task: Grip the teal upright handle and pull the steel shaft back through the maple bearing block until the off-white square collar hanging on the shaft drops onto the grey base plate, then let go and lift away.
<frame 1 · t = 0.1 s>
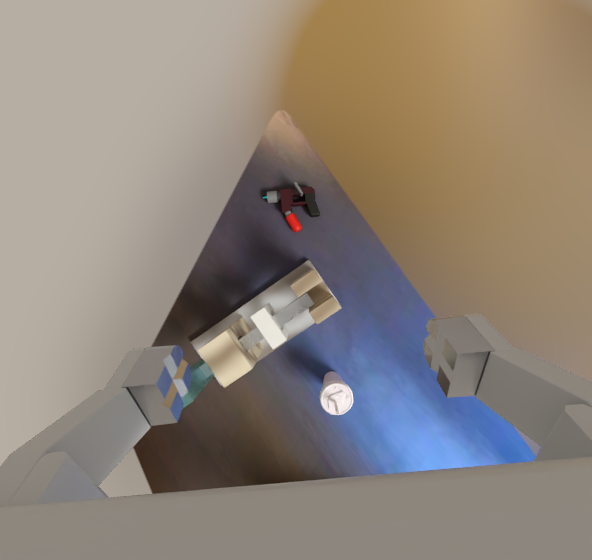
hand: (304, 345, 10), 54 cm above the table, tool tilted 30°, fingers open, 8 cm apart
smoothie: (331, 379, 65), on the table
collar: (272, 321, 57), point 7 cm above the table, touching shaft
toy gun: (291, 211, 64), on the table
stand: (265, 322, 64), on the table
shaft: (246, 344, 50), point 15 cm above the table, slide at 0.0 cm, touching collar
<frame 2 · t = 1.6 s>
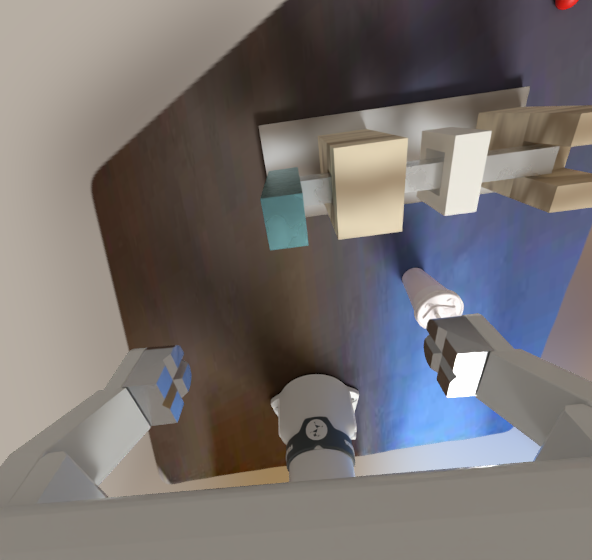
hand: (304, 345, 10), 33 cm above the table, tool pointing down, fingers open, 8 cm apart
smoothie: (412, 276, 48), on the table
collar: (432, 164, 32), point 7 cm above the table, touching shaft
stand: (387, 159, 38), on the table
shaft: (419, 184, 25), point 15 cm above the table, slide at 0.0 cm, touching collar
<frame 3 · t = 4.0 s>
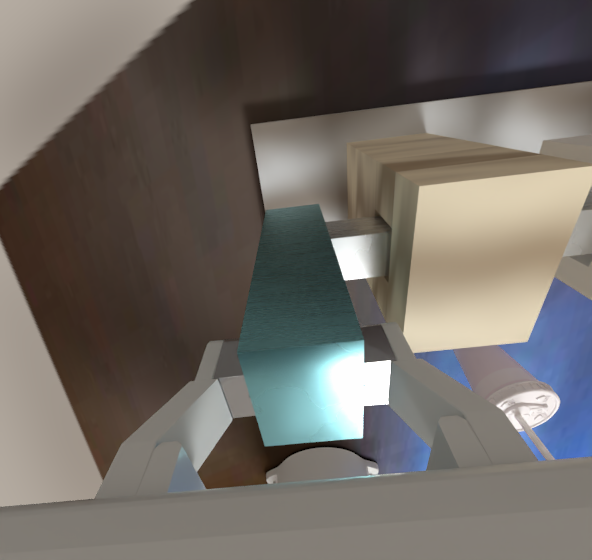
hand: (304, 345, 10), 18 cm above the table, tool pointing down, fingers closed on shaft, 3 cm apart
smoothie: (465, 337, 34), on the table
collar: (548, 197, 19), point 7 cm above the table, touching shaft
stand: (450, 179, 25), on the table
shaft: (584, 259, 12), point 15 cm above the table, slide at 0.0 cm, touching collar, gripper
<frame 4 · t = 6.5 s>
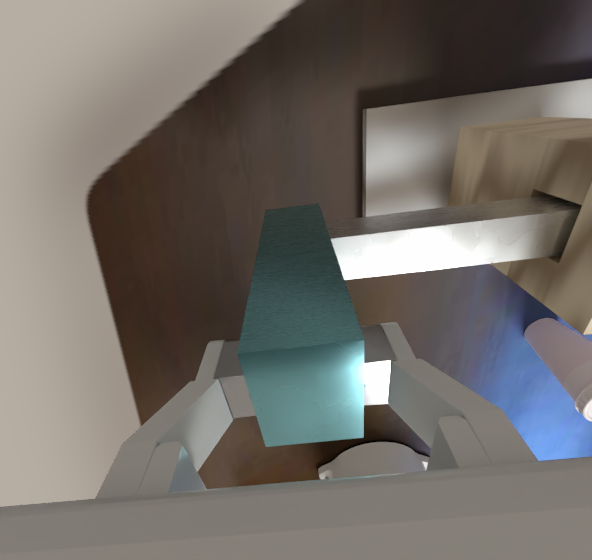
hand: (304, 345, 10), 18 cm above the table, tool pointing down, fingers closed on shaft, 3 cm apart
smoothie: (539, 329, 34), on the table
stand: (552, 165, 24), on the table
shaft: (584, 257, 12), point 15 cm above the table, slide at 8.5 cm, touching collar, gripper
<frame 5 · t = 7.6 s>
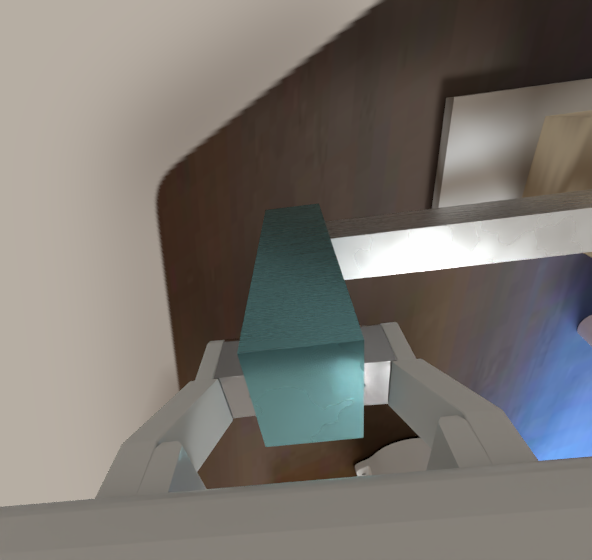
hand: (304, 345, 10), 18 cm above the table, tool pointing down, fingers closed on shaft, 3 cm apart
shaft: (584, 257, 12), point 15 cm above the table, slide at 14.8 cm, touching collar, gripper
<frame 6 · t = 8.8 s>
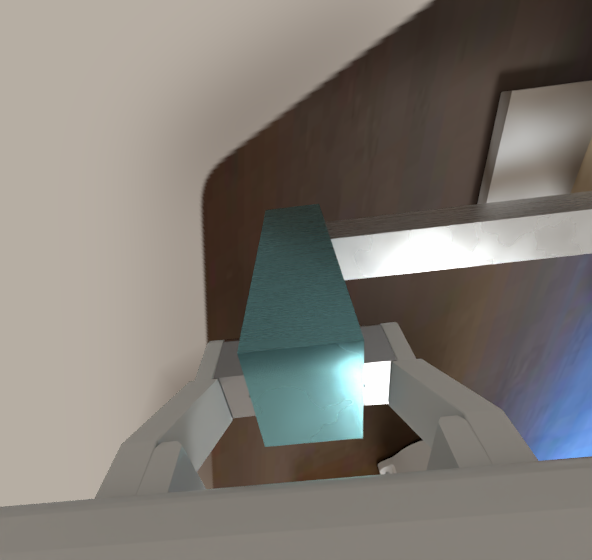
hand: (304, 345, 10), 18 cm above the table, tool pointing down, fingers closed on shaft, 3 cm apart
shaft: (583, 259, 12), point 15 cm above the table, slide at 18.8 cm, touching gripper
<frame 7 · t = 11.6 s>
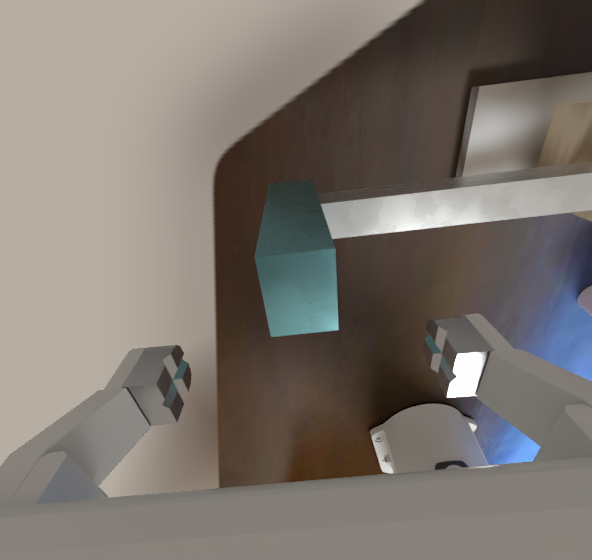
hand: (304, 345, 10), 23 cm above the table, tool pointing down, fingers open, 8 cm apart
smoothie: (591, 294, 38), on the table
shaft: (511, 216, 16), point 15 cm above the table, slide at 19.0 cm
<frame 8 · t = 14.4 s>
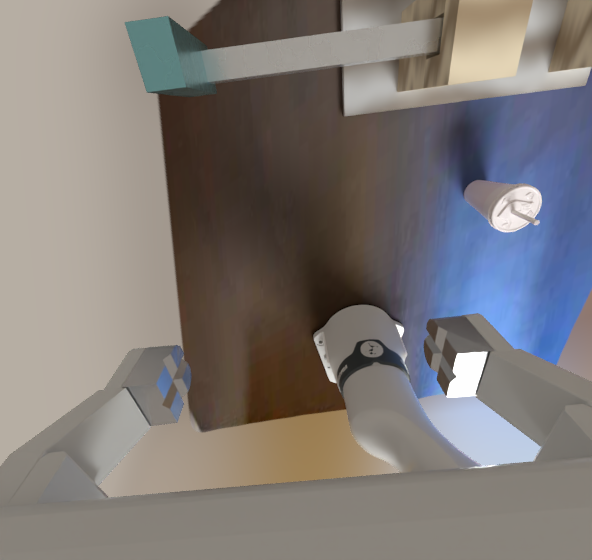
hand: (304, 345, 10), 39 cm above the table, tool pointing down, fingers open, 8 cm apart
smoothie: (474, 191, 46), on the table
stand: (467, 46, 37), on the table
shaft: (317, 47, 25), point 15 cm above the table, slide at 19.0 cm
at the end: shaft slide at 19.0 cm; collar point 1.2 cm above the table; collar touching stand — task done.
